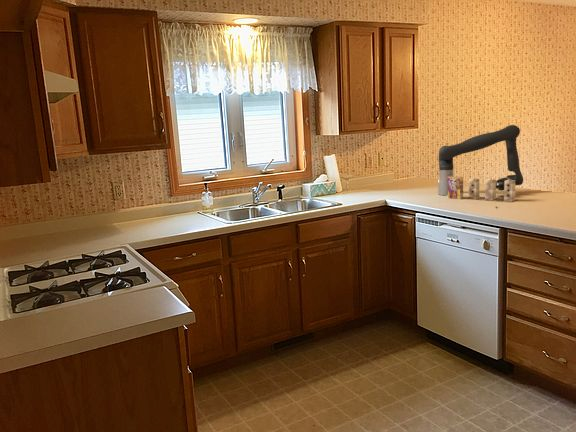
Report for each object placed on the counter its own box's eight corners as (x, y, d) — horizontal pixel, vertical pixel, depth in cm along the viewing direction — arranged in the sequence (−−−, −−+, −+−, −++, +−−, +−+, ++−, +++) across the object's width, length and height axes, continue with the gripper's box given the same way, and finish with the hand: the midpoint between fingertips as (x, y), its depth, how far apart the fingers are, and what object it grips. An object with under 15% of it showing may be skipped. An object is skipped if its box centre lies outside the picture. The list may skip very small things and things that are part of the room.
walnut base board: (464, 201, 311) (464, 198, 310) (471, 198, 317) (471, 196, 317) (512, 204, 289) (512, 202, 289) (519, 202, 296) (519, 199, 296)
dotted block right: (504, 200, 295) (504, 180, 293) (507, 199, 299) (507, 179, 296) (511, 201, 292) (512, 181, 290) (514, 200, 295) (515, 179, 293)
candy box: (463, 200, 313) (463, 176, 310) (459, 201, 310) (459, 177, 307) (451, 199, 320) (451, 176, 317) (447, 200, 317) (447, 176, 314)
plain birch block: (485, 199, 302) (485, 180, 300) (488, 198, 305) (488, 179, 303) (492, 200, 299) (492, 180, 297) (495, 198, 302) (495, 179, 300)
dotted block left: (469, 198, 311) (469, 179, 309) (472, 197, 314) (472, 178, 312) (475, 198, 308) (476, 179, 306) (479, 197, 311) (479, 178, 309)
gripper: (493, 177, 318) (481, 181, 306) (514, 178, 309) (503, 182, 297) (493, 188, 319) (481, 193, 308) (514, 190, 310) (502, 194, 298)
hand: (492, 187), depth 302 cm, fingers closed
